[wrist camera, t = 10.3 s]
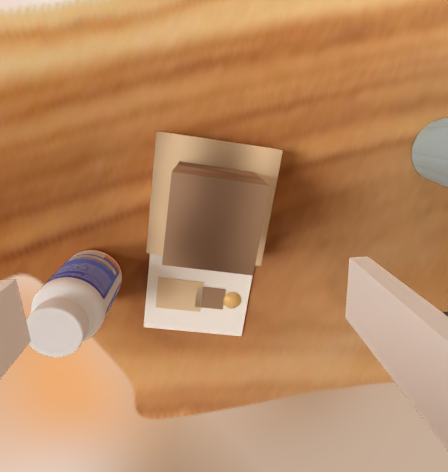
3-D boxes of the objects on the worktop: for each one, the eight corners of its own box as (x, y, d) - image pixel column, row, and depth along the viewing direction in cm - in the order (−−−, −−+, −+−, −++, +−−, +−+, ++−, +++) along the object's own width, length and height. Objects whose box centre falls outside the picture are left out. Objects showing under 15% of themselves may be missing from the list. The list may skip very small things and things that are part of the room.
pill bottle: (59, 251, 32) (0, 301, 22) (118, 245, 32) (83, 293, 23) (72, 303, 33) (22, 370, 24) (128, 297, 33) (99, 362, 24)
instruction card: (143, 326, 34) (143, 327, 34) (150, 252, 32) (149, 253, 32) (241, 335, 35) (241, 336, 35) (254, 263, 33) (254, 265, 33)
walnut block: (171, 233, 29) (161, 264, 22) (179, 161, 27) (171, 171, 20) (241, 242, 29) (253, 275, 23) (253, 172, 28) (270, 185, 21)
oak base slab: (151, 242, 32) (146, 253, 29) (160, 131, 29) (156, 131, 26) (255, 254, 33) (260, 266, 30) (275, 148, 30) (282, 150, 27)
